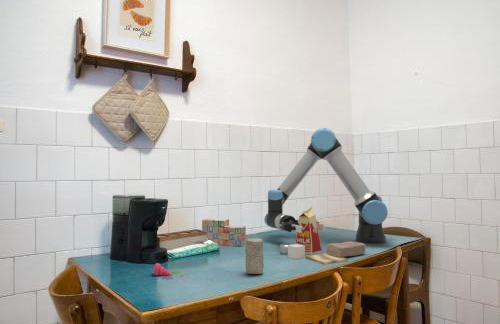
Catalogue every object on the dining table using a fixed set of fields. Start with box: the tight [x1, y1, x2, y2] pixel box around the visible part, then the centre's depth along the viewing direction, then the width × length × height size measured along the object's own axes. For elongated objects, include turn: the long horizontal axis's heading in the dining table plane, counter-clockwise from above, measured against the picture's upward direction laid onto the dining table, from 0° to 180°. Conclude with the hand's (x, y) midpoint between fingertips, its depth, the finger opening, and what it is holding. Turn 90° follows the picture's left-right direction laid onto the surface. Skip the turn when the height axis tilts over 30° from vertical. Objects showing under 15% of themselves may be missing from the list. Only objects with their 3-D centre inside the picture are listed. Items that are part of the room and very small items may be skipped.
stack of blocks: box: [201, 218, 247, 248], centre depth 187 cm, size 21×6×12 cm, turn 68°
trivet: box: [304, 252, 349, 265], centre depth 153 cm, size 12×12×1 cm
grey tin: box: [279, 243, 292, 256], centre depth 165 cm, size 5×5×4 cm
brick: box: [325, 241, 366, 258], centre depth 161 cm, size 17×8×5 cm, turn 126°
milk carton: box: [295, 206, 323, 255], centre depth 168 cm, size 9×9×20 cm
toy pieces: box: [152, 262, 185, 281], centre depth 130 cm, size 12×11×4 cm
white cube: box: [287, 243, 306, 260], centre depth 157 cm, size 5×5×5 cm
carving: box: [244, 237, 265, 275], centre depth 132 cm, size 6×8×12 cm
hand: (312, 228), depth 165 cm, fingers open, 12 cm apart
